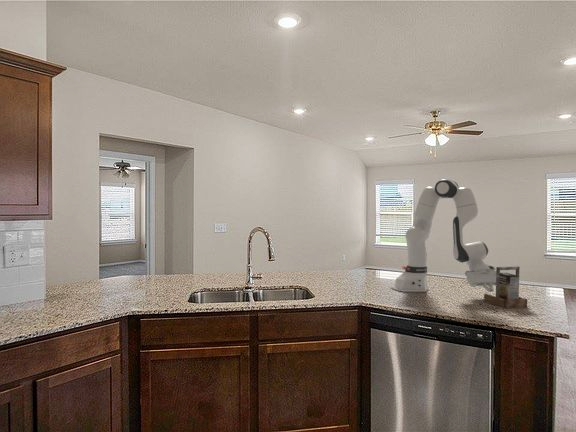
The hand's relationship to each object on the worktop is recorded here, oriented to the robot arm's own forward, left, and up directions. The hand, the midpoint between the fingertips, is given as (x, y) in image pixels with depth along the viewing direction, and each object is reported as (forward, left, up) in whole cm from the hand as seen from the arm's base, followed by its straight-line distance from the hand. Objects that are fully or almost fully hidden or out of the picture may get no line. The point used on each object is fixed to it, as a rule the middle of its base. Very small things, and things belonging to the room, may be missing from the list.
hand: (491, 291), depth 225 cm
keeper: (0, -9, -5) cm, 10 cm away
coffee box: (+1, -10, -5) cm, 12 cm away
